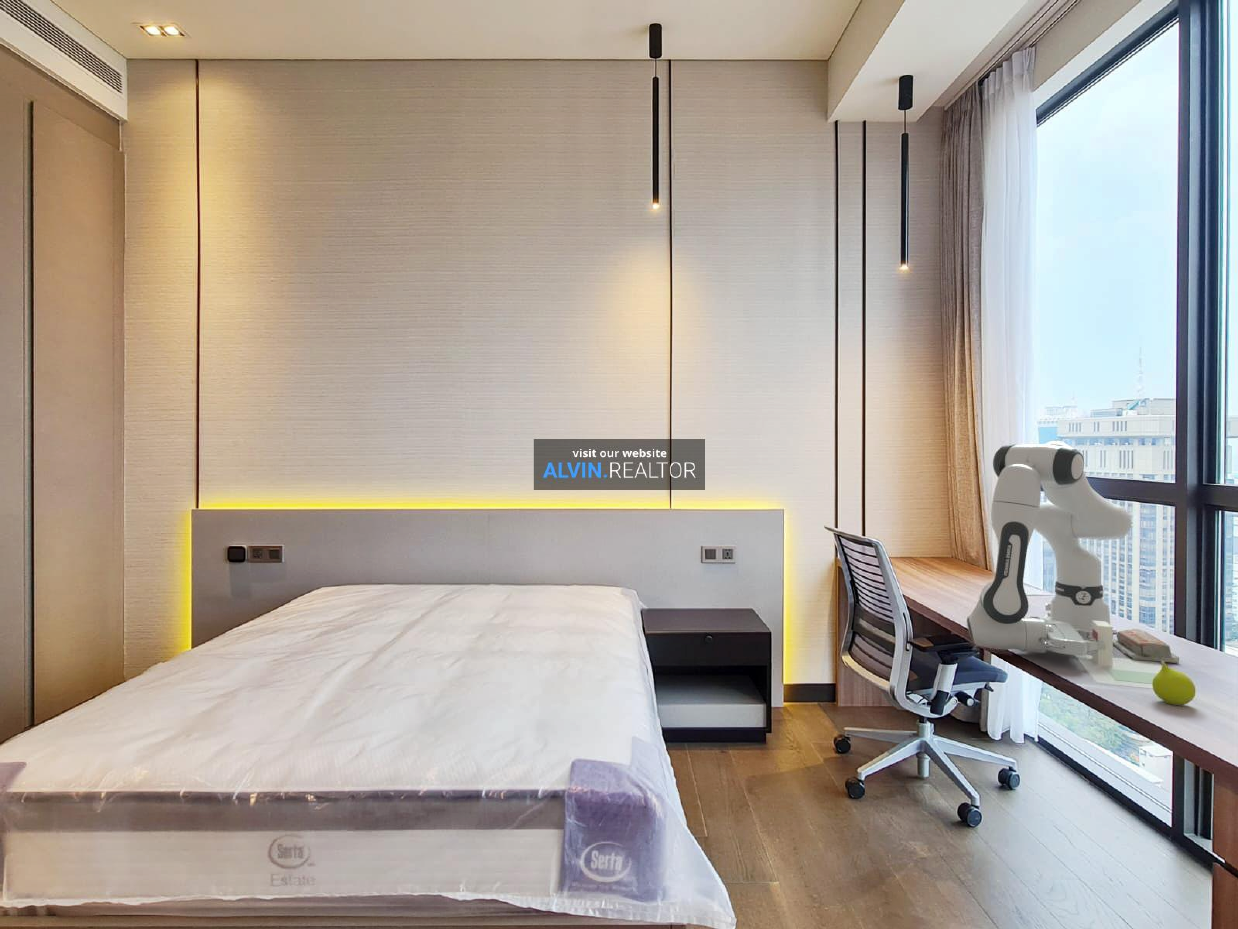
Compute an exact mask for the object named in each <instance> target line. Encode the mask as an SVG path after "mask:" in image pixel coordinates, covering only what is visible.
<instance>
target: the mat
mask: <svg viewBox="0 0 1238 929" xmlns="http://www.w3.org/2000/svg"><path fill="white" fill-rule="evenodd" d="M1074 656H1075V658H1076V659H1077V660H1078V662H1079V663H1080V664H1081V665H1082V667H1083V668H1084V669H1085V670H1086V671H1087V673H1088V674H1089V676H1091V678H1092V680H1094V682H1095V683H1096V684H1103V685H1113V686H1122V687H1132V688H1139V689H1151V690H1154V689H1153V685H1152V683H1153V679H1154V677H1155V676H1156V675H1157V674H1158V673H1159V672H1160V670H1161V669H1162V663H1161V662H1160V661H1147V660H1135V659H1133V658H1132V659H1131V658H1123V657H1113V667H1109V666H1099V665H1097V663H1096V662H1095V661H1094V660H1093V659H1092V655H1091V654H1090V655H1089V654H1087V655H1085V656H1077V655H1074Z"/></svg>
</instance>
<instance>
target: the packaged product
mask: <svg viewBox="0 0 1238 929" xmlns="http://www.w3.org/2000/svg"><path fill="white" fill-rule="evenodd" d="M1115 636H1116V638H1113V646H1115V647H1116V648H1117V649H1118V650H1120V651H1121V653H1123V654H1125V655H1127V656H1129V657H1131V658H1132V659H1134V660H1145V661H1156V662H1159V663H1161V661H1164V662H1165V663H1174V664H1179V663H1180V657H1179V656H1177V655H1175V654H1174V653H1172V652H1171V648H1170V645H1169V644H1167V643H1165V642H1163V641H1162V640H1160V639H1159V638H1157V637H1156V636H1154V635H1153V634H1150V633H1148V632H1147V631H1144V630H1142V629H1137V628H1136V629H1133V628H1132V629H1125V630H1120V631H1117V633H1116V634H1115Z"/></svg>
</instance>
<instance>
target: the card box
mask: <svg viewBox="0 0 1238 929" xmlns="http://www.w3.org/2000/svg"><path fill="white" fill-rule="evenodd" d="M1113 628H1114V627H1113V625H1111V623H1110V624H1109V623H1107V622H1106V621H1094V620H1092V640H1091V641H1094V642H1096V641H1103V642H1104V643H1105V644H1106V649H1105V650H1098V649H1097V650H1091V654H1092V655H1091V656H1092V659H1093V660H1094V661H1095V662H1096V663H1097V665H1099V666H1109V667H1113V658H1114V656H1113V651H1114V650H1113V649H1114V648H1113V646H1114V645H1113V640H1114V637H1113V636H1114V635H1113V634H1114V633H1113Z"/></svg>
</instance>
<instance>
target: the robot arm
mask: <svg viewBox="0 0 1238 929" xmlns="http://www.w3.org/2000/svg"><path fill="white" fill-rule="evenodd" d="M992 465H993V466H992V468H993V472H994V473H995V475H996V476H997V478H998V479H997V481H996V485H995V488H994V492H993V498H992V503H991V510H990V512H991V514H990V516H991V527H992V530H993V531H994V534H995V537H996V539H997V546H998V547H997V548H998V550H997V551H998V552H997V559H996V567H995V574H994V578H993V579H994V580H993V581H991V582H988V583H987V584H985V585H984V587H983V588H982V589H981V592H980V594H979V598H978V600H977V603H976V605H975V606H974V609H973V610H972V612H971V613H970V614H969V615H968V616H967V618H966V623H967V624H966V625H967V630H968V634H969V638H970V639H971V641H972V642H973V643H974V644H975V645H977V646H978V647H979V646H980V647H982V648H989V649H994V650H995V649H996V650H1017V651H1020V652H1027V653H1038V654H1046V653H1047V649H1048V650H1050V651H1051V652H1053V653H1057V654H1063V655H1068V656H1069V655H1070V656H1075V655H1077V656H1085V655H1088V651H1092V650H1097V649H1098V650H1105V649H1106V644H1105V643H1104V642H1103V641H1096V642H1094V641H1092V620H1094V621H1106V622H1107V623H1109V624H1110V625H1111V615H1110V614H1111V613H1110V605H1109V604H1108V603H1107V602H1106V601H1105V600H1104V599H1103V597H1104V592H1105V590H1104V586H1103V585H1102V561H1101V560H1100V558H1099V557H1098V555H1096V554H1095V553H1093V551H1091V550H1090V551H1089V550H1088V549H1086V548H1085V547H1084V546H1082V544H1081V543H1080V539H1085V540H1086V539H1087V540H1098V541H1099V540H1100V541H1107V540H1108V541H1109V540H1119V539H1123V538H1124V537H1125V536H1126V535H1127V534H1128V533H1129V532H1130V530H1131V528H1132V518H1131V517H1132V516H1131V515H1130V513H1129V511H1128V510H1127V509H1126V508H1125V507H1123V506H1122V505H1119V504H1116V503H1114V502H1112V501H1110V500H1108V499H1106V498H1104V497H1103V496H1102V495H1100V494H1099V492H1097V491H1095V489H1093V488H1092V487H1091V485H1090V483H1089V480H1088V478H1087V476H1086V474H1085V471H1084V469H1085V460H1084V456H1083V454H1082V453H1081V452H1080V451H1079V450H1078V449H1076V448H1074V447H1072V446H1070V445H1068V444H1067V443H1065V442H1064V441H1063V442H1062V441H1057V440H1056V441H1049V442H1046V443H1043V444H1040V443H1039V444H1038V443H1037V444H1013V443H1012V444H1006V445H1002V446H1001V447H1000V448H999V449H998V450H996V452H995V454H994V456H993V460H992ZM1041 489H1042V490H1043V492H1044V494H1045V497H1046V498H1047V501H1045V502H1044V501H1043V502H1041V496H1042V495H1041V493H1042V490H1041ZM1034 530H1035V532H1037V533H1038V534H1040V535H1041V536H1042V537H1043V538H1044V539H1045V540H1046V542H1048V544H1049V545H1050V547H1051V548H1052V551H1053V554H1054V558H1055V564H1056V581H1055V585H1054V593H1055V595H1054V596H1053V598H1052V600H1050V602H1047V603H1045V611H1047V614H1045V615H1044V616H1043V618H1040V617H1039V616H1030V617H1026V615H1027V614H1028V612H1029V601H1028V600H1029V599H1028V597H1027V594H1026V591H1025V588H1024V578H1025V577H1024V575H1025V568H1026V560H1027V554H1028V553H1027V552H1028V548H1029V543H1030V541H1031V538H1032V536H1033V532H1034ZM1117 632H1118V629H1116V628H1115V627H1113V634H1117ZM1085 639H1086V640H1085ZM1089 640H1091V641H1089Z"/></svg>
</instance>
